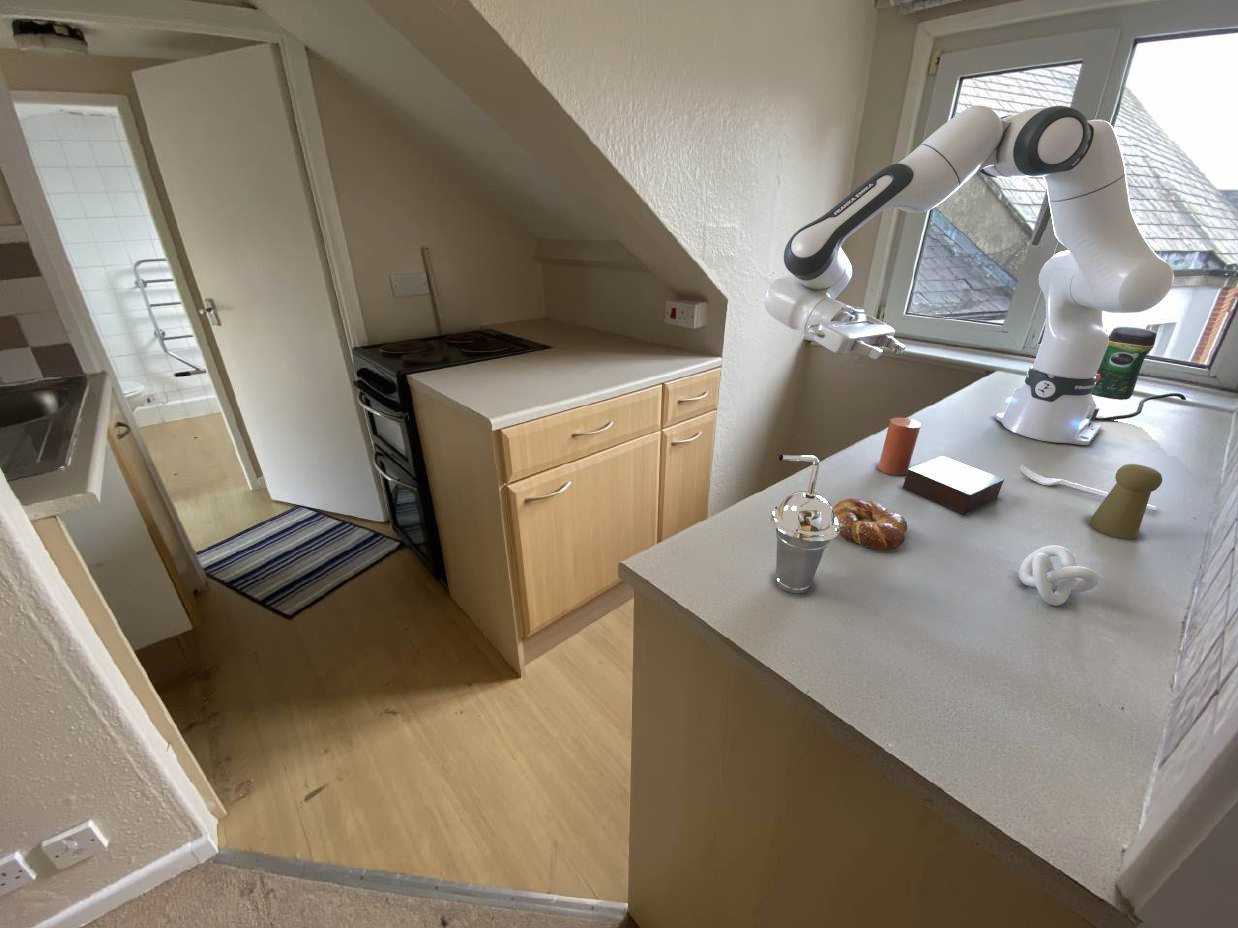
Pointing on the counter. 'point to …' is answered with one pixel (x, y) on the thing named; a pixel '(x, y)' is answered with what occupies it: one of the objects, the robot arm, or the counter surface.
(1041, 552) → the knot
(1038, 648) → the counter surface
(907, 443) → the canister
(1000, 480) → the stand
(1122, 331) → the coffee jar
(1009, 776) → the counter surface
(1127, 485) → the cork
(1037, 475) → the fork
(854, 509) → the pretzel
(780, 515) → the cup with straw
